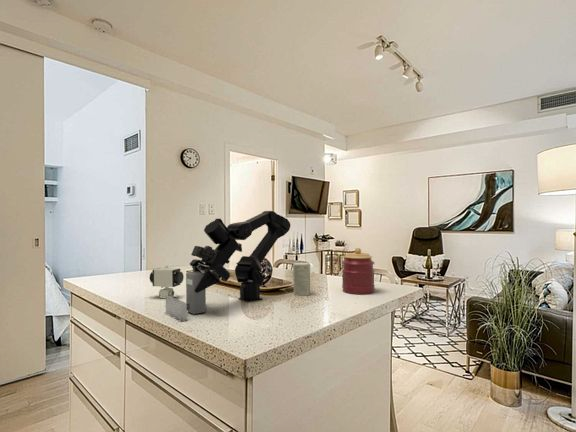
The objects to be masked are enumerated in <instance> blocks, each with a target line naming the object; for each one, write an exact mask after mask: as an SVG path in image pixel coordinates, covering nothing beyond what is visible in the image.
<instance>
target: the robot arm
mask: <svg viewBox="0 0 576 432" xmlns="http://www.w3.org/2000/svg"><path fill="white" fill-rule="evenodd" d="M263 226H266V227H267V232H266V234H265V235H264V236H263V237H262V239H261V240H260V241H259V243H258V244H257V245H256V247H255V248H254V250H253V251H252V252H251V254H250V255H249V256H248V255H245V256H244V255H242V257H240V259H239V261H238V262H236V266H235V268H234V274H235V277H236V281H237V283H238V284H239V283H240V287H239V297H238V300H240V301H244V302H246V303H251V302H255V301H256V302H257V301H262V300H263V297H261V295H260V294H261V291H260V290H261V286H260V285H261V284H263V283H264V279H265V277H264V275H263V273H261V270H262V268H261V267H262V265H261V264H262V262H263V261H264V259H265V258H266V256H267V255H268V254H269V252H270V251H271V249H272V248H273V246H274V245H275V244H276V242H277V241H278V239H279V238H281V237H284V236H285V235H286V234H287V233H289V231H290V229H291V222H290V221H289V219H288V218H286V217H285V216H283V215H280V214H278V213H277V212H276V211H274V210H264V211H262V212H261V213H259V214H257V215H255V216H253V217H251V218H248V219H247V220H244V221H240V222H233V223H230V224H228V225H226V224H225V223H224V222H223V220H222V219H221V218H215V219H214V220H213V221H211V222H209V223H208V224H206V225H205V226H204V229H203V232H204V234H206V236H207V237H208V238H209V239H210V241H212V243H213V244H214V245H217V246H216V248H215V249H213V247H212V246H210V245H205V246H203V247H202V246H199V245H194V247H193V249H192V252H191V256H193V257H197V258H199V259H197V258H195V259H192V260H191V261H190V262H189V265H190V267H192V268H191V269H192V272H202V273H204V277H203V278H202V280H201V281H200V283H199V284H198V286H197V287H196V289H195V292H196V293H198V292H200V291H202V290H204V289H207V288H210V287H212V286H214V285H216V284H218V283H221V282H222V281H223V282H226V283H227V281H228V280H229V279H230V277H231V273H230V272H229V270H228V269H227V268H225V267H224V266H225V265H226V264H229V263H230V262H231V261H230V259H231V257H232V256H233V254H234V253H235V252H236V251H237V252H240V253H242V252H243V247H242V245H243V244H242V243H239V242H238V241H246V240H247V239H248V238H250V237H251V235H252V234H253V232H254V231H256V230H258V229H259V228H261V227H263Z"/></svg>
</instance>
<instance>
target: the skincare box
mask: <svg viewBox="0 0 576 432" xmlns="http://www.w3.org/2000/svg"><path fill="white" fill-rule="evenodd" d="M310 265H311V264H310V262H294V263H293V264H292V272H293V273H292V278H293V279H292V280H293V282H292V283H293V295H294V296H310V294H311V269H310Z"/></svg>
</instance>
